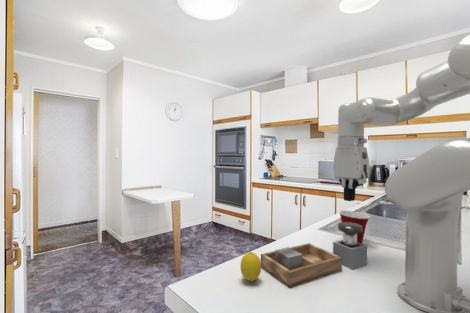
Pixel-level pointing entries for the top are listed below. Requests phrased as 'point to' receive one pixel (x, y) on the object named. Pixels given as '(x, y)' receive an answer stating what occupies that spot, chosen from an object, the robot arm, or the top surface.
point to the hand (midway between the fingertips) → (349, 200)
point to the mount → (351, 254)
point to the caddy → (300, 264)
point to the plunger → (350, 233)
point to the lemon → (250, 266)
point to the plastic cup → (355, 221)
